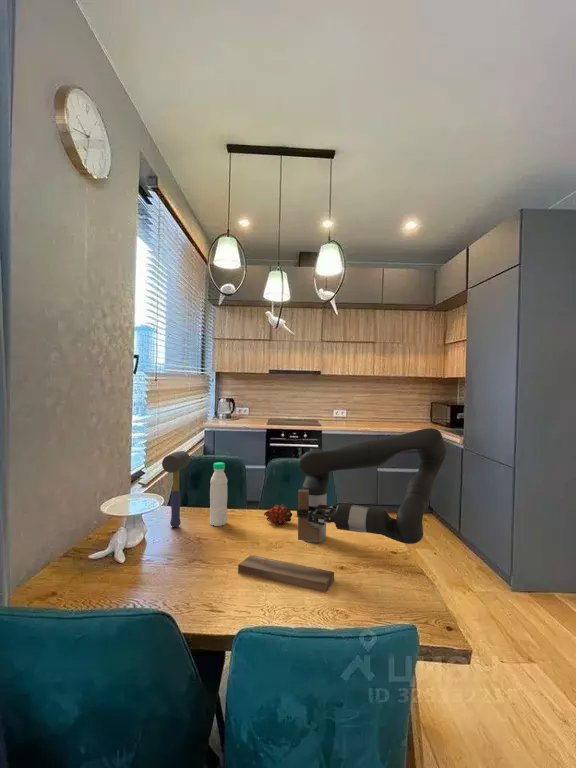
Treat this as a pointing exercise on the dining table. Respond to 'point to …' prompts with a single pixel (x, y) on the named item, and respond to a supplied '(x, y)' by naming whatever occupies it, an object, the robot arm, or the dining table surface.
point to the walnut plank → (287, 573)
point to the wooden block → (305, 519)
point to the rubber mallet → (175, 481)
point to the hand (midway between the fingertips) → (300, 510)
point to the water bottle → (218, 495)
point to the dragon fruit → (278, 514)
